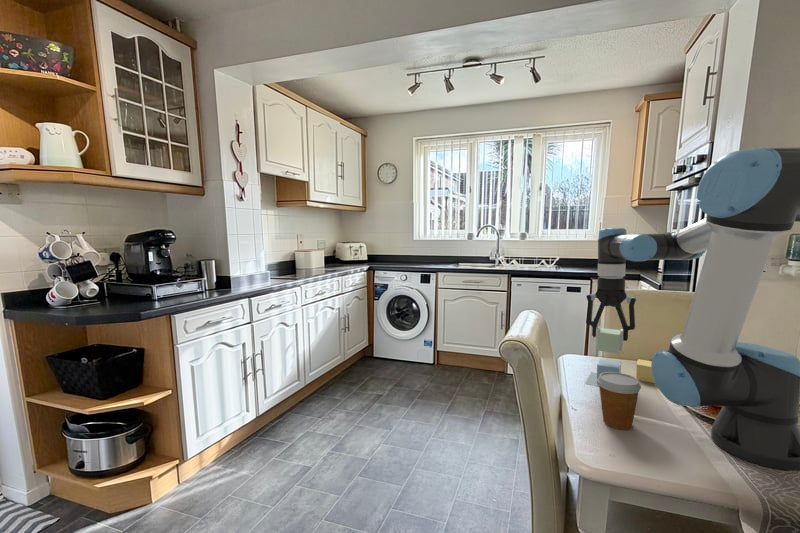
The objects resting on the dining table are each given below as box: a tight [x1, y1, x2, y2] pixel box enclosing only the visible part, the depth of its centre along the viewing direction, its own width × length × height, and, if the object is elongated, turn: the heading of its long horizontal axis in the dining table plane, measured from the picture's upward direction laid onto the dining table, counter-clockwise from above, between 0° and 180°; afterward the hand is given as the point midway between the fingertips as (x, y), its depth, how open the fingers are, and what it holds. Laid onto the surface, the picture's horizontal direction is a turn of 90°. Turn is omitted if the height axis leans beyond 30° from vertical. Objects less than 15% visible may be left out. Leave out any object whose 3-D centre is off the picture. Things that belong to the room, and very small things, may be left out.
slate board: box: [584, 371, 600, 388], centre depth 114 cm, size 12×12×1 cm
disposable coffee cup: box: [597, 372, 642, 431], centre depth 90 cm, size 10×10×12 cm
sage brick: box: [596, 327, 621, 355], centre depth 113 cm, size 6×6×6 cm
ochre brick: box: [635, 358, 656, 384], centre depth 115 cm, size 6×6×6 cm
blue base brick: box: [596, 359, 622, 383], centre depth 113 cm, size 6×6×6 cm
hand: (609, 348), depth 113 cm, fingers closed on sage brick, 6 cm apart
